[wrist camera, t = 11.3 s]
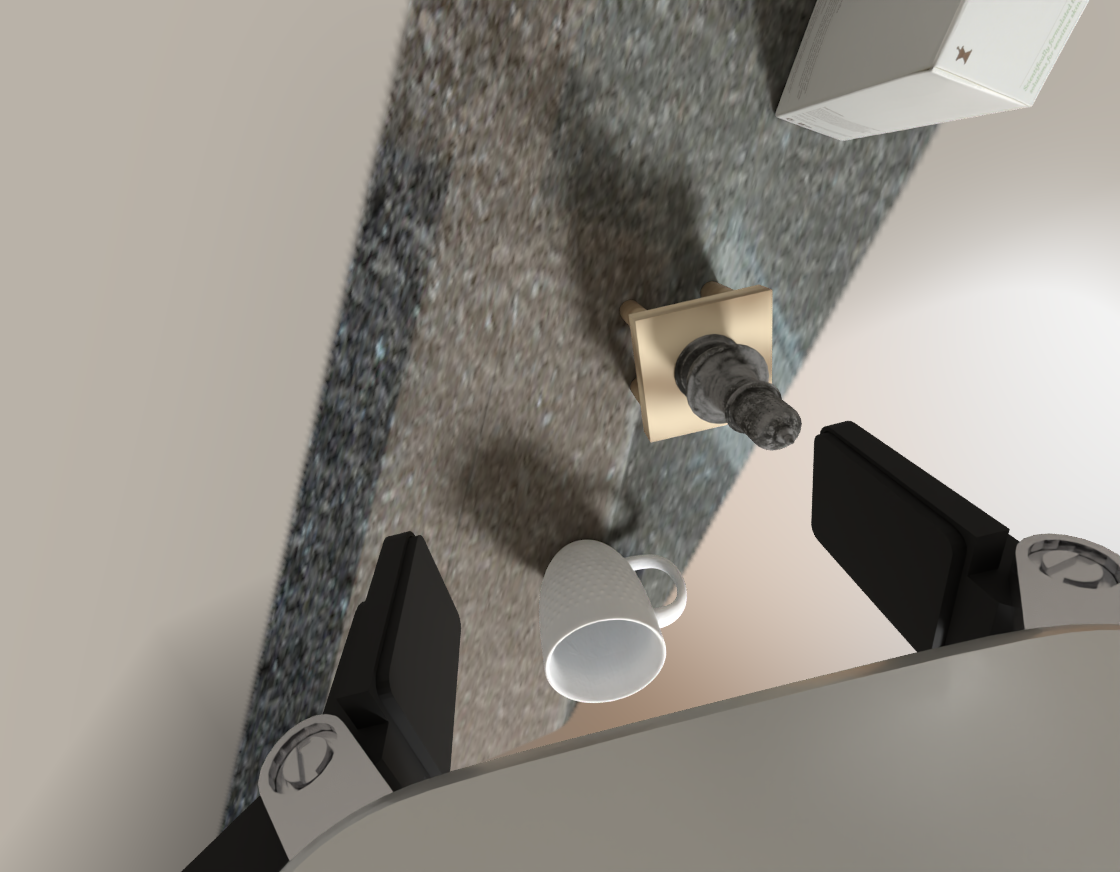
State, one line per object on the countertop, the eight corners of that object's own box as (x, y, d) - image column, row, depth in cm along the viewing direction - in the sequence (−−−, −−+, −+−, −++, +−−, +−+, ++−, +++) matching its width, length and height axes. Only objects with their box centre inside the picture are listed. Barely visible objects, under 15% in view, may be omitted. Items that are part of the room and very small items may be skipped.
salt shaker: (666, 340, 36) (737, 407, 25) (744, 321, 36) (849, 380, 25) (674, 412, 39) (741, 499, 28) (747, 394, 39) (842, 474, 28)
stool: (611, 298, 42) (635, 321, 35) (725, 271, 42) (772, 289, 35) (627, 403, 47) (650, 442, 40) (729, 379, 47) (771, 414, 40)
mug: (654, 498, 52) (699, 588, 41) (672, 572, 57) (717, 671, 46) (519, 540, 53) (526, 641, 41) (550, 610, 58) (563, 717, 46)
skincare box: (839, 143, 39) (1030, 120, 25) (766, 115, 37) (926, 75, 23) (897, 11, 35) (1157, -100, 21) (819, -25, 34) (1043, -169, 20)
